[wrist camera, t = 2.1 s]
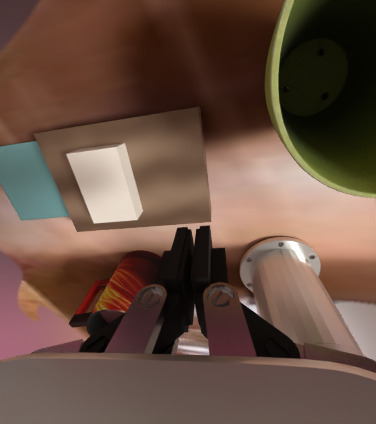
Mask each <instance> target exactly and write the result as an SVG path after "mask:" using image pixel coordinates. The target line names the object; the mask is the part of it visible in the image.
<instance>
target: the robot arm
mask: <svg viewBox="0 0 376 424" xmlns="http://www.w3.org/2000/svg"><path fill="white" fill-rule="evenodd" d="M320 267H321V264H320V260H319V257H318V255H317V254H316V252H315V251H314V250H313V248H312V247H311V246H309V245H308V244H307V243H305V242H303V241H301V240H299V239H295V238H290V237H275V238H269V239H266V240H263V241H261V242H259V243H257V244H255V245H254V246H252V247H251V248H250V249H249V250H248V251H247V252H246V253H245V254H244V256H243V257H242V259H241V262H240V267H239V271H240V277H241V280H242V282H243V283H244V285H245V286H246V287H247V288H248V289H249V290H250V291H252V292H253V293H254V298H255V303H256V307H257V312H258V315H257V314H256V313H255V312H253V311H252V310H251V309H249V308H248V307H246V306H245V305H244V304H242V303H241V302H240V300H239V296H238V293H237V291H236V289H235V288H234V287H233V286H231V285H229V284H228V278H227V266H226V254H225V248H212V240H211V231H210V225H209V226H200V229H196V236H195V244H194V243H193V237H192V231H191V229H189V230H188V228H187V227H181V228H177V231H176V234H175V238H174V242H173V245H172V249H171V251H165V252H164V253H163V256H162V259H161V263H160V266H159V269H158V272H157V275H156V278H155V281H154V284H152V285H148V286H146V287H144V288H142V289H141V290H140V291H138V293H137V294H136V296H135V297H134V299H133V301H132V303H131V305H130V306H129V308H128V310H127V311H126V312H125V313H123V314H122V315H120V316H119V317H117V318H116V319H115V320H113V321H112V322H110V323H109V324H107V325H106V326H104V327H103V328H101V329H100V330H98V331H97V332H95V333H94V334H93V335H91V336H90V337H89V338H88V339H87V340H86V341H83V340H82V339H81V340H77V341H72V342H68V343H64V344H60V345H56V346H51V347H47V348H43V349H39V350H36V351H34V352H32V353H31V354H26V355H20V356H15V357H11V358H7V359H3V360H0V424H376V361H374V360H372V359H369V358H367V357H366V356H365V354H364V352H363V351H362V349H361V348H360V346H359V344H358V342H357V341H356V339H355V337H354V336H353V334H352V332H351V331H350V329H349V327H348V326H347V324H346V323H345V321H344V319H343V317H342V316H341V314H340V312H339V311H338V309H337V308H336V306H335V304H334V302H333V301H332V299H331V297H330V296H329V294H328V292H327V291H326V289H325V287H324V286H323V284H322V283H321V281H320V279H319V278H318V276H319V273H320ZM194 305H195V307H196V312H197V317H198V322H199V325H200V327H201V333H202V334H203V335H204V336H205V337H206V338H207V339H208V346H209V354H210V355H176V351H177V347H178V343H179V337H180V336H181V335H182V334H183V333H184V332H188V329H189V325H192V324H193V316H194Z"/></svg>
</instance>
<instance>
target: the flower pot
mask: <svg viewBox="0 0 376 424" xmlns="http://www.w3.org/2000/svg"><path fill="white" fill-rule="evenodd" d="M319 50H323V53H322V55H319V54H318V51H319ZM284 87H287V88H288V90H287V91H284ZM323 94H326V95H327V96H326V98H325V99H322V97H321V96H322V95H323ZM265 97H266V104H267V108H268V112H269V115H270V118H271V121H272V124H273V126H274V128H275V130H276V132H277V134H278V136H279V137H280V139H281V141H282V143H283V144H284V146H285V147H286V149H287V150H288V152H289V153H290V154H291V156H292V157H293V159H294V160H295V161H296V162H297V163H298V165H299V166H300V167H301V168H302V169H303V170H304V171H305V172H307V173H308V174H309V175H310V176H312V177H313V178H314V179H316V180H318V181H319V182H321V183H323V184H324V185H326V186H328V187H330V188H332V189H335V190H337V191H340V192H343V193H346V194H350V195H354V196H360V197H367V198H376V0H284V3H283V6H282V8H281V11H280V14H279V17H278V20H277V23H276V26H275V29H274V33H273V36H272V40H271V44H270V48H269V53H268V57H267V63H266V71H265Z"/></svg>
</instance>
